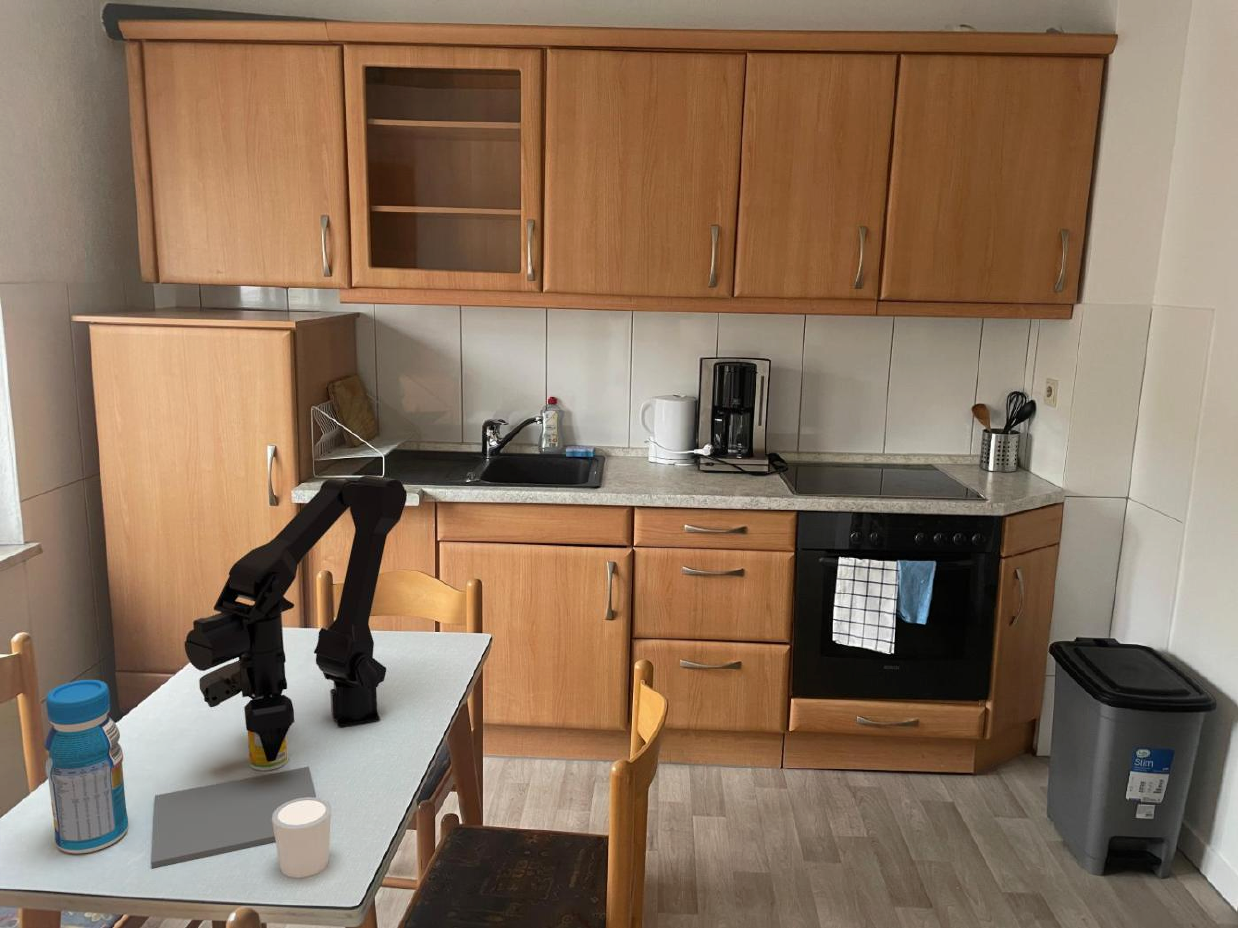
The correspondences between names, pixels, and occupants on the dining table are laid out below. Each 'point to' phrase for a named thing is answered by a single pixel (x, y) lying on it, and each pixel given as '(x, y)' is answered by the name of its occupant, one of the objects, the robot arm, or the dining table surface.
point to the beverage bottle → (84, 768)
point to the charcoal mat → (222, 815)
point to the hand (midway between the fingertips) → (268, 745)
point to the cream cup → (302, 836)
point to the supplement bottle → (258, 755)
